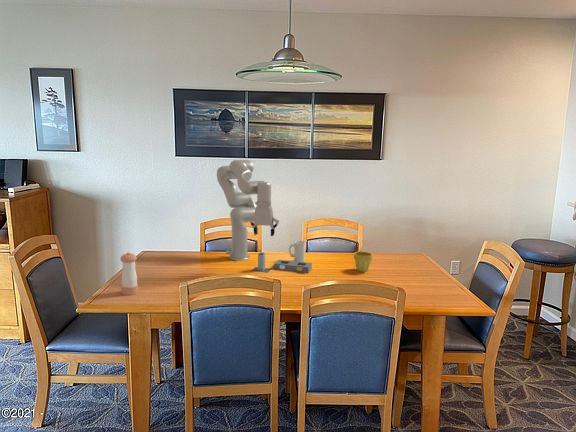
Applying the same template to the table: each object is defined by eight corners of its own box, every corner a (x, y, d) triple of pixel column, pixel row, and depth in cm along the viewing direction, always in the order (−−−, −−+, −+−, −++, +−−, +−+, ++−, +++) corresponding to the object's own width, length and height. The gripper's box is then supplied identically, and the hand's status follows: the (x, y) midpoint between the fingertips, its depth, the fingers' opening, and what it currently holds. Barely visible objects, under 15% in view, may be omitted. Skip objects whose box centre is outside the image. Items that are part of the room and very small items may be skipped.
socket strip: (273, 269, 236) (273, 263, 235) (278, 265, 245) (278, 259, 244) (308, 273, 231) (308, 267, 230) (311, 268, 240) (311, 262, 239)
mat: (250, 271, 232) (250, 270, 231) (255, 267, 239) (255, 266, 239) (267, 273, 229) (267, 272, 229) (272, 269, 237) (272, 268, 236)
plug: (257, 270, 233) (258, 253, 231) (259, 268, 236) (259, 252, 234) (263, 270, 232) (263, 254, 230) (265, 269, 235) (265, 252, 233)
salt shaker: (135, 295, 192) (134, 254, 188) (119, 295, 191) (117, 254, 188) (140, 289, 199) (138, 250, 196) (124, 289, 198) (122, 250, 195)
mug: (304, 260, 257) (305, 241, 255) (305, 263, 251) (305, 243, 249) (288, 259, 258) (289, 240, 256) (288, 262, 251) (288, 243, 249)
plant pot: (373, 269, 242) (374, 252, 240) (368, 273, 233) (369, 256, 231) (356, 266, 247) (357, 250, 245) (350, 270, 238) (351, 254, 236)
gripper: (246, 204, 228) (246, 235, 231) (276, 206, 223) (276, 237, 226) (251, 203, 235) (252, 233, 238) (281, 204, 230) (280, 234, 233)
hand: (264, 235), depth 232 cm, fingers open, 9 cm apart
